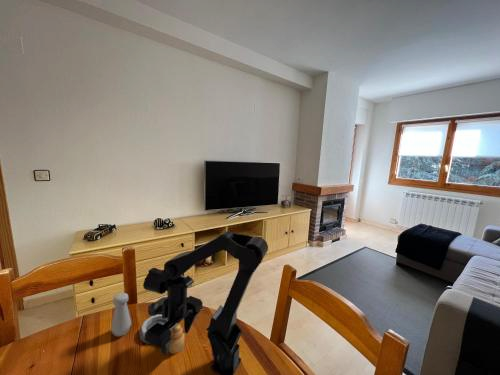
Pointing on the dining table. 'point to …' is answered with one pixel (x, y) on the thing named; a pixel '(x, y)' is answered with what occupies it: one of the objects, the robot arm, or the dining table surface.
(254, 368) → the dining table surface
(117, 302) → the salt shaker
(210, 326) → the robot arm
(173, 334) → the beige tiered cylinder
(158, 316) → the grey shallow dish
